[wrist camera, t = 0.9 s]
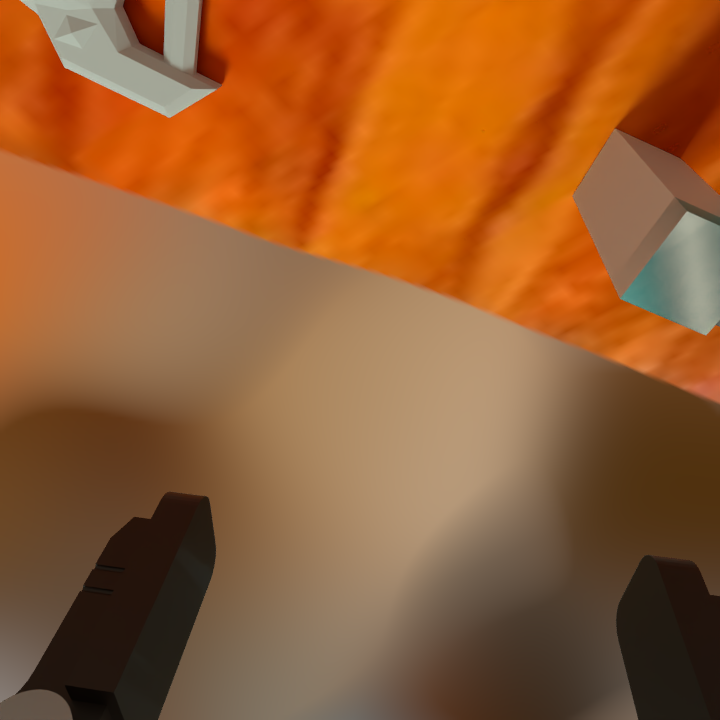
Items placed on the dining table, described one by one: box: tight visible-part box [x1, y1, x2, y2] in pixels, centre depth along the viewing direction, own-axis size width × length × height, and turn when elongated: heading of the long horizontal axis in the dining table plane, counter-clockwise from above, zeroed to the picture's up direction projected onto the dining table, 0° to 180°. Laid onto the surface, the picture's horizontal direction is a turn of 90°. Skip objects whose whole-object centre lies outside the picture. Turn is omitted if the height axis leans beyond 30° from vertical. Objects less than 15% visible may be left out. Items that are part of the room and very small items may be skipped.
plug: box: [573, 129, 720, 335], centre depth 28 cm, size 4×4×12 cm
